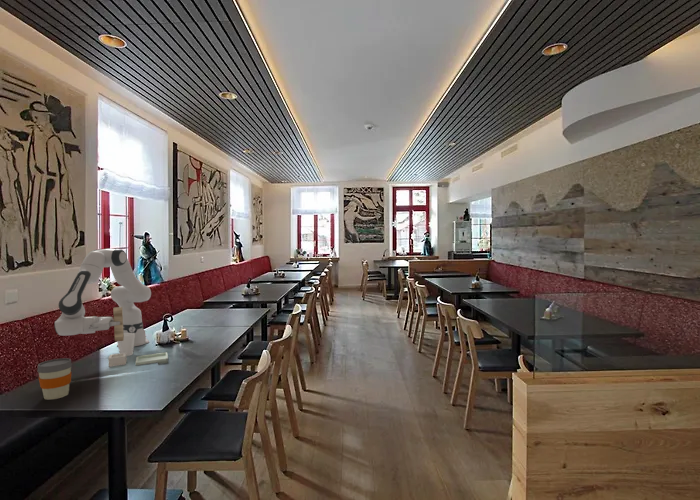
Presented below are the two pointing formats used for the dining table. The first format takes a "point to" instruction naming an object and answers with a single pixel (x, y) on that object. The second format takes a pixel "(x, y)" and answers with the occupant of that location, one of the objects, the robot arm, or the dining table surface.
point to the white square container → (117, 359)
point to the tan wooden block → (118, 328)
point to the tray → (152, 359)
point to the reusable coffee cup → (55, 377)
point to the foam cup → (127, 344)
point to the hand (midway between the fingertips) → (120, 321)
